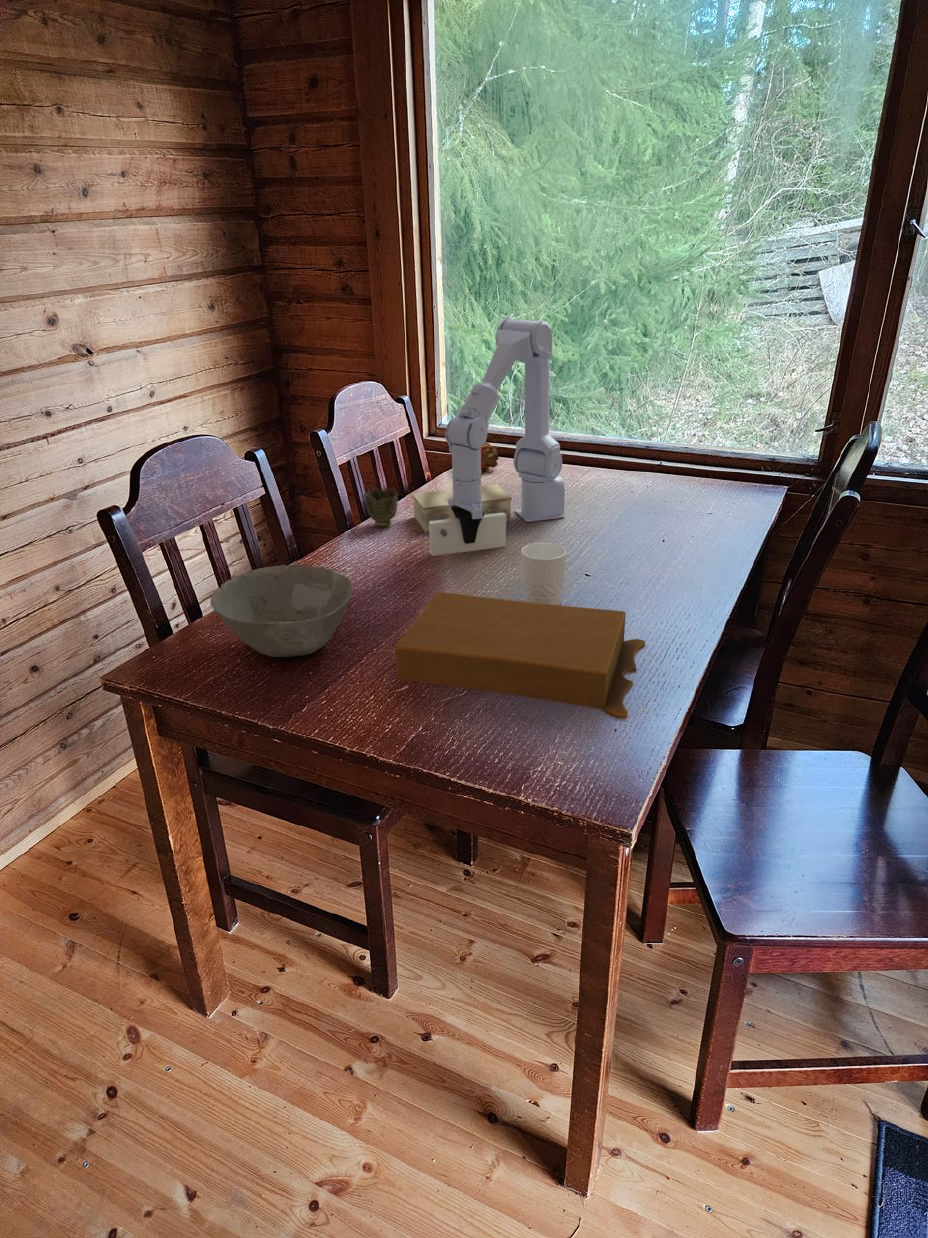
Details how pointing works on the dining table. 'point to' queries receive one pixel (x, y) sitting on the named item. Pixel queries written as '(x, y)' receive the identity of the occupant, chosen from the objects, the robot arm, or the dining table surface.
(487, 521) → the door
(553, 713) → the dining table surface
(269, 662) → the dining table surface
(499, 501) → the cabinet
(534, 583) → the white cup
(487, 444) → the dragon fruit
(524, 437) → the robot arm
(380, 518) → the cup
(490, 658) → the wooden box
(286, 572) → the ceramic bowl
